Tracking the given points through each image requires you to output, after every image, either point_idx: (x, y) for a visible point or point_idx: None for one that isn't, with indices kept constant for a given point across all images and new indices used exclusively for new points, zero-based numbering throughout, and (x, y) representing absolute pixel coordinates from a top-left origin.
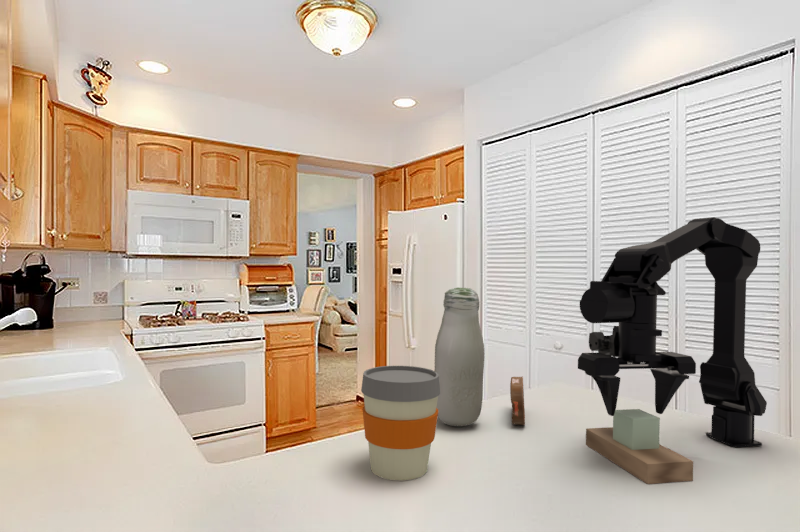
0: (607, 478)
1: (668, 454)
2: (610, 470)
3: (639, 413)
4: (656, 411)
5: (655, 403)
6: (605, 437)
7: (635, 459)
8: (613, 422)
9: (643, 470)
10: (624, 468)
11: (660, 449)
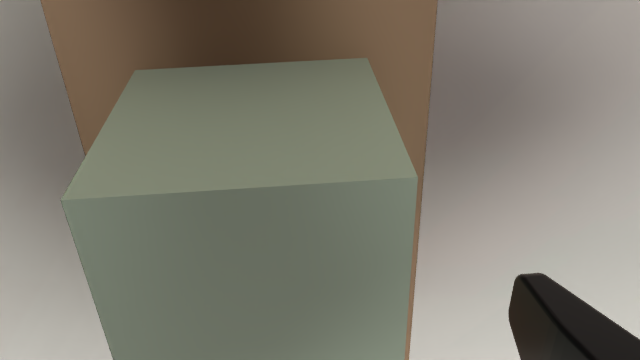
0: (6, 271)
1: None
2: (57, 201)
3: (304, 305)
4: (518, 285)
5: (558, 333)
6: (85, 32)
7: None
8: (102, 132)
9: None
10: None
11: None
